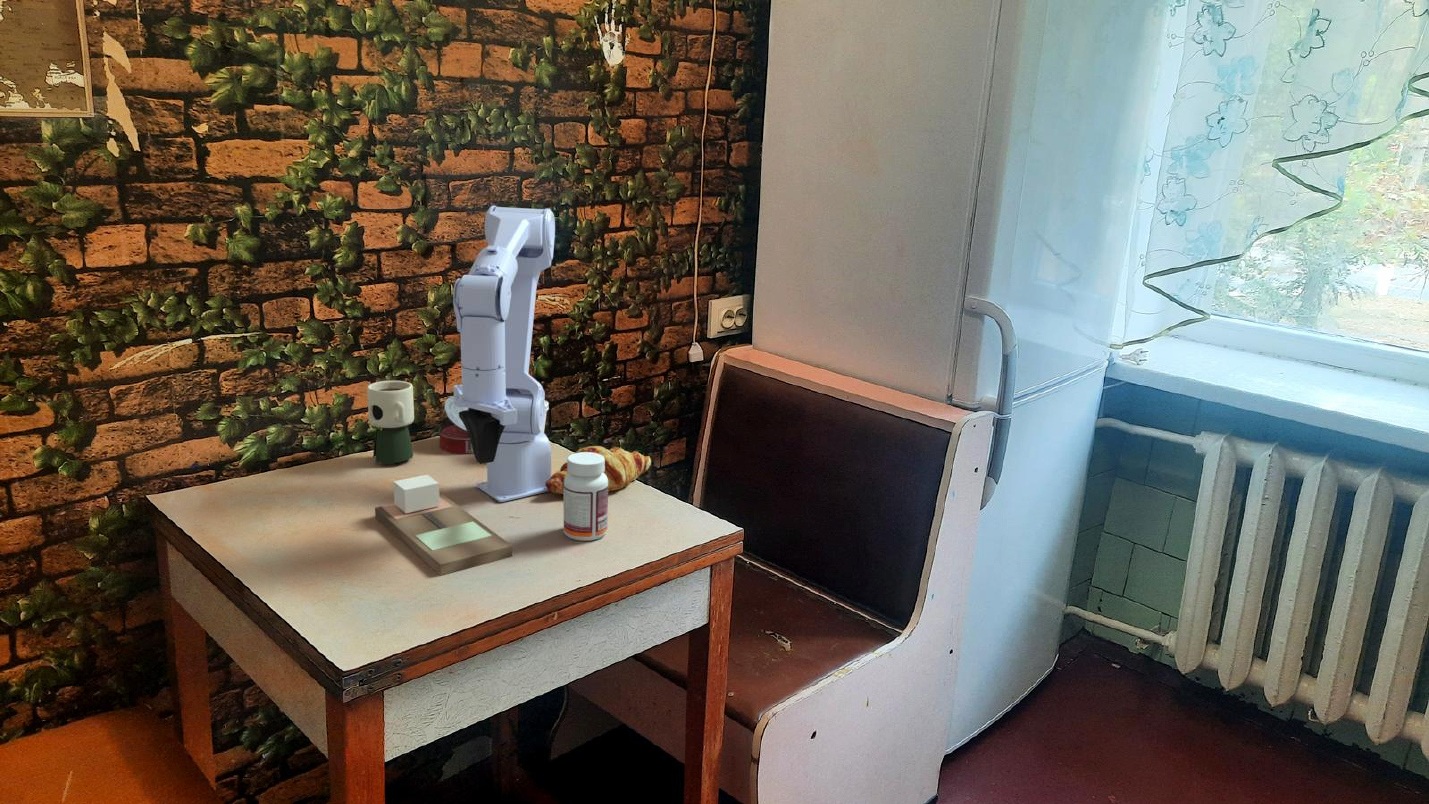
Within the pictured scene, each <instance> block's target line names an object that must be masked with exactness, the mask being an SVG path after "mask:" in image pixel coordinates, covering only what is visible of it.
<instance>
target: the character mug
mask: <svg viewBox="0 0 1429 804" xmlns="http://www.w3.org/2000/svg"><path fill="white" fill-rule="evenodd" d="M366 392H367V397H366V398H367V408H368V410H367V411H368V413H367V414H368V416H367V417H368V423H369V425H370V426H372V427H376V431H375V433H374V434H375V435H374V440H373V443H374V444H373V456H372V457H373V458H372V459H373V460H375V462H376V463H377V464H382V465H383V464H384V465H392V464H398V463H400V462H404V461H408V460H411V459H412V458H413V456H414V453H413V445H412V441H411V436H410V430H409V428H408V427H407V426H408V425H412V424H413V422H414V420H415V409H414V407H415V406H414V386H413V384H412V383H411V382H407V381H404V380H403V381H402V380H382V381H376V382H372V383H370V384H368V385H367V387H366Z"/></svg>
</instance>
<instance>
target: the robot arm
mask: <svg viewBox="0 0 1429 804" xmlns="http://www.w3.org/2000/svg"><path fill="white" fill-rule="evenodd" d="M555 221H556V220H555V214H554V213H553V211H552V209H551V208H544V209H542V208H541V209H540V208H526V207H524V208H521V207H505V206H504V207H503V206H496V205H491V206H490V207H489V208H488V209H487V211H486V213H485V219H484V235H485V239H486V242H487V246H486V247H484V248H482V249H481V250H480V251H479V252H478V254H477V256H476V258H475V259H474V260H475V261H474V262H473V265H472V266H471V268H470V270H469V272H468V274H464V275H463V276H462V277H461V278H457V279H456V280H455V283H454V287H453V296H452V298H453V299H452V301H453V303H452V304H453V311H454V315H455V318H456V319H455V320H456V329H457V330H456V331H457V332H459V333H460V359H461V361H460V363H461V366H460V368H461V372H460V373H461V384H457V385H453V397H454V399H455V400H454V405H456V406H458V407H468V410H465V411H461V412H459V417H460V419H461V420H462V422H463V424H464V425H465V427H466V430H467V432H468V435H469V438H470V441H471V444H472V448H473V452H474V454H473V455H474V458H475V459H474V460H475V462H477V463H478V464H479V465H484V464H486V479H487V481H483V482H478V483H477V484H476V487H477V488H479V489H480V490H481V491H482V492H484V493H485V494H487V495H488V496H490V497H491V498H493V499H494V500H495V501H497V502H499V503H504V502H507V501H512V500H517V499H521V498H526V497H529V496H533V495H534V496H535V495H538V494H542V493H547V492H550V491H549V490H548V489H547V487H546V485H545V483H546V481H547V480H549V479H550V478H551V477H552V446H551V442H550V440H549V438H548V436H547V435H546V433H545V432H544V433H543V432H542V430H543V426H544V420H545V403H544V400H545V399H546V398H545V396H546V393H545V390H544V388H543V385H542V384H541V383H540V382H539V381H537V379H536V378H534V377H533V376H532V375H530V374H529V370H530V363H531V362H530V361H531V359H530V358H531V348H532V340H533V327H534V317H535V306H536V298H537V297H536V296H537V287H538V283H539V278H540V275H541V272H542V271H544V270H546V269H548V268H551V266H552V260H553V258H554V249H555V239H556V237H555V236H556V235H555V234H556V222H555Z"/></svg>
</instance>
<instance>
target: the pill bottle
mask: <svg viewBox="0 0 1429 804" xmlns="http://www.w3.org/2000/svg"><path fill="white" fill-rule="evenodd" d="M574 453H575V452H574ZM574 453H571V454H570V455H569V456H568V457H567V461H566V463H567V470H568V472H569V473H568V474H567V475H566V477H565V479H564V494H563V533H564V534H565V536H566V537H568V538H569V539H571V540H575V541H583V542H584V541H585V542H587V541H589V542H591V541H596V540H600V539H601V538H603V537H605V535H607V532H608V520H609V519H608V517H609V516H608V514H609V508H608V507H609V505H608V504H609V492H608V478H607V476H606V475H605V474H604V473H603V472H604V471H605V458H604V457H603V456H602V455H600V454H597V453H592V452H580V453H575V454H574Z"/></svg>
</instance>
